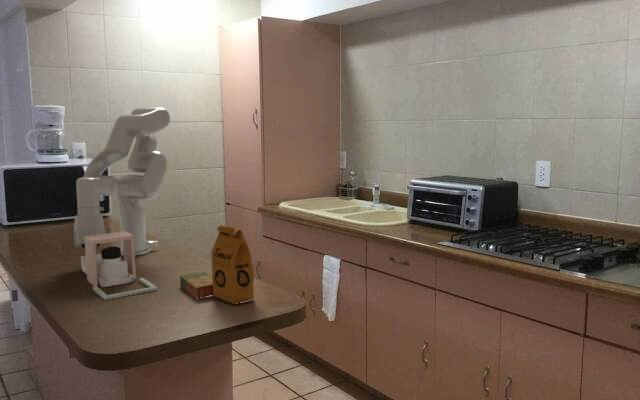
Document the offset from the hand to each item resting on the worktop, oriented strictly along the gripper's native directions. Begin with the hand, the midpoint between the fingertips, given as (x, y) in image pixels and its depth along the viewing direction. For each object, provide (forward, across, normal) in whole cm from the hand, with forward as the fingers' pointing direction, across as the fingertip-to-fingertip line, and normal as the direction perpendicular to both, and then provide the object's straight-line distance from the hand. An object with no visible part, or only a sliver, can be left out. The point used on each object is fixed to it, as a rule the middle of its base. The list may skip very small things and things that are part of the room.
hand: (91, 260), depth 208 cm
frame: (+3, -1, +37) cm, 37 cm away
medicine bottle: (+3, 0, +26) cm, 26 cm away
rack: (+2, -1, +18) cm, 18 cm away
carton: (+3, -20, +52) cm, 56 cm away
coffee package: (+3, -24, +67) cm, 71 cm away
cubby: (+3, -1, +23) cm, 23 cm away
